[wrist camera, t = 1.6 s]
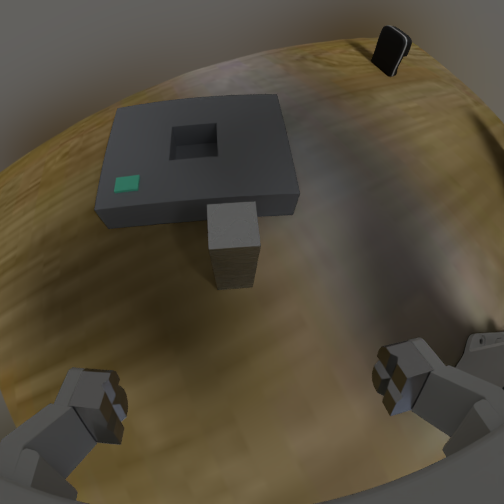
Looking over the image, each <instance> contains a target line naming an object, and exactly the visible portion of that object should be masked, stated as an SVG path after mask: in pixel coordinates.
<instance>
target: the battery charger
mask: <svg viewBox="0 0 504 504" xmlns="http://www.w3.org/2000/svg"><path fill="white" fill-rule="evenodd" d="M411 44H412V40H411V38H410V37H409V36H408V35H406V34H405V33H404V32H403V31H401V30H400V29H398V28H396V27H393V26H384V27H383V29H382V31H381V33H380V36H379V39H378V42H377V45H376V48H375V52H374V54H373V57H372V59H371V61H372V62H373V63H374V64H375V65H377V66H378V67H379V68H380V69H381V70H382V71H384V72H385V73H386V74H387V75H389V76H395V75H396V74H397V69H398V66H399V64H400V62H401V60H402V58H403V57H405V56H407V55H408V52H409V50H410V47H411Z"/></svg>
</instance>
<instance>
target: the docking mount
mask: <svg viewBox="0 0 504 504" xmlns="http://www.w3.org/2000/svg"><path fill="white" fill-rule="evenodd" d="M299 195H300V191H299V186H298V182H297V177H296V172H295V168H294V163H293V159H292V154H291V150H290V145H289V141H288V137H287V133H286V128H285V124H284V120H283V116H282V112H281V108H280V104H279V100H278V96H277V94H256V95H226V96H210V97H197V98H187V99H177V100H169V101H161V102H154V103H147V104H140V105H134V106H128V107H123V108H117V112H116V115H115V119H114V122H113V126H112V130H111V133H110V137H109V141H108V145H107V149H106V153H105V158H104V162H103V167H102V171H101V176H100V181H99V186H98V192H97V197H96V203H95V209H94V210H95V212H96V213H97V214H98V216H99V217H100V218H101V220H102V221H103V222H104V223H105V225H106V226H107V227H108V229H113V228H122V227H133V226H143V225H154V224H165V223H177V222H189V221H202V220H208V219H207V205H209V204H223V203H238V202H256V211H257V217H261V216H279V215H293V213H294V210H295V207H296V204H297V201H298V198H299Z"/></svg>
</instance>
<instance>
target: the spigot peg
mask: <svg viewBox="0 0 504 504" xmlns="http://www.w3.org/2000/svg"><path fill="white" fill-rule="evenodd" d="M207 219H208V244H209V253H210V258H211V262H212V267H213V271H214V276H215V280H216V285H217V289H218V290H225V289H239V288H251V287H253V284H254V278H255V273H256V268H257V262H258V257H259V252H260V247H261V244H260V236H259V227H258V219H257V211H256V202H238V203H223V204H209V205H207Z"/></svg>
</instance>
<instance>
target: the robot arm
mask: <svg viewBox="0 0 504 504" xmlns="http://www.w3.org/2000/svg"><path fill="white" fill-rule="evenodd" d="M377 357H378V358H379V361H378V362H377V363H376V364H375V365H374V368H373V372H372V381H373V385H374V387H375V389H376V391H377V393H379V394H381V395H383V396H384V397H383V401H382V402H383V404H384V406H385V408H386V410H387V411H388V413H389V415H390V416H393V415H396V414H399V413H403V412H406V411H409V410H412V412H414V413H415V414H417V415H418V416H420V417H421V418H423V419H424V420H426V421H427V422H429V423H430V424H432V425H433V426H435V427H436V428H438V429H439V430H441V431H442V432H444V433H445V434H447V435H448V436H450V437H451V438H450V439H449V440H448V442H447V443H446V444H445V445H444V447H443V452H444V453H445V455H446V458H444V459H442V460H440V461H438V462H436V463H434V464H431V465H429V466H427V467H425V468H423V469H420V470H418V471H416V472H414V473H411V474H409V475H406V476H404V477H401V478H399V479H396V480H394V481H391V482H388V483H385V484H383V485H380V486H377V487H374V488H371V489H368V490H365V491H361V492H358V493H355V494H351V495H348V496H344V497H340V498H337V499H333V500H328V501H324V502H320V503H315V504H504V332H493V333H476V334H471V335H470V336H469V338H468V340H467V343H466V347H465V351H464V354H463V356H462V358H461V360H460V361H459V363H458V364H457V366H456V367H455V368H454V367H452V366H450V365H449V366H445V365H444V363H443V362H442V361H441V360H440V358H439V357H438V356H437V355H436V354H435V352H434V351H433V350H432V349H431V348H430V346H429V345H428V344H427V343H426V342H425V340H424V339H422V338H420V337H418V338H414V339H411V340H407V341H403V342H399V343H395V344H390V345H386V346H382V347H381V348H380V349H379V351H378V354H377ZM119 381H120V378H119V376H118V374H117V372H116V371H113V370H100V369H88V368H85V369H84V368H74V367H72V368H71V369H69V371H68V373H67V375H66V377H65V380H64V382H63V384H62V386H61V388H60V391H59V393H58V395H57V398H56V400H55V402H54V404H49V405H47V406H46V407H45V408H43V409H42V410H41V411H39V412H38V413H37V414H35V415H34V416H33V417H31V418H30V419H29V420H27V421H26V422H24V423H23V424H22V425H20V426H19V427H18V428H16V429H15V430H14V431H12V432H11V433H10V434H8V435H7V436H6V437H4V438H3V439H2V441H1V443H0V504H88V503H84V502H79V501H76V498H77V491H76V489H75V488H74V487H73V486H72V485H71V484H70V483H68V482H67V481H66V480H65V479H66V478H67V477H68V476H69V474H70V473H71V472H72V471H73V470H74V469H75V468H76V467H77V465H78V464H79V463H80V462H81V461H82V460H83V459H84V458H85V456H86V455H87V454H88V453H89V452H90V451H91V450H92V449H93V448H94V446H95V445H96V444H97V443H96V442H98V443H108V444H121V442H122V437H123V432H124V426H123V425H122V423H121V421H122V420H124V419H125V418H126V417H127V412H128V400H127V395H126V392H125V390H124V389H123V388H122V387H121V386H119V385H118V384H119Z"/></svg>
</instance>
